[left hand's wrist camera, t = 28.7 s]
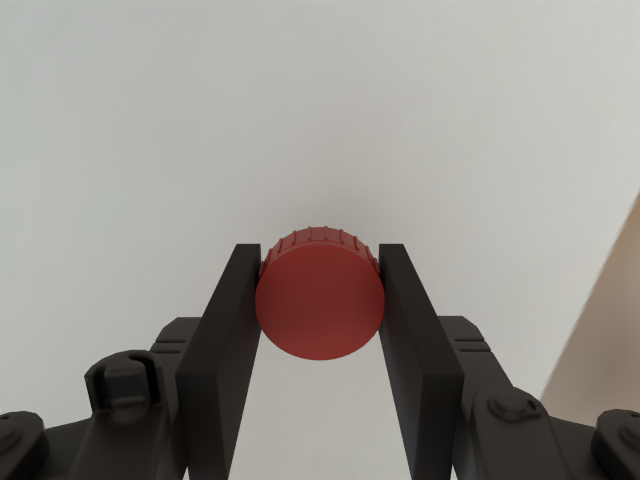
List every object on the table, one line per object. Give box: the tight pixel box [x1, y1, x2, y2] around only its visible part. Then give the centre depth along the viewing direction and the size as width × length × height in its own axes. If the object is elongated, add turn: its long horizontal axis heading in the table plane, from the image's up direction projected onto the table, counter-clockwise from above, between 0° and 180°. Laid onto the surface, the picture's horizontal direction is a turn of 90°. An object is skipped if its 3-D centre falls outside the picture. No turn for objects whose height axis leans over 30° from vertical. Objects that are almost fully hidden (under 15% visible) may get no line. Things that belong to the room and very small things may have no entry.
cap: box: [255, 226, 385, 360], centre depth 14 cm, size 4×4×2 cm
